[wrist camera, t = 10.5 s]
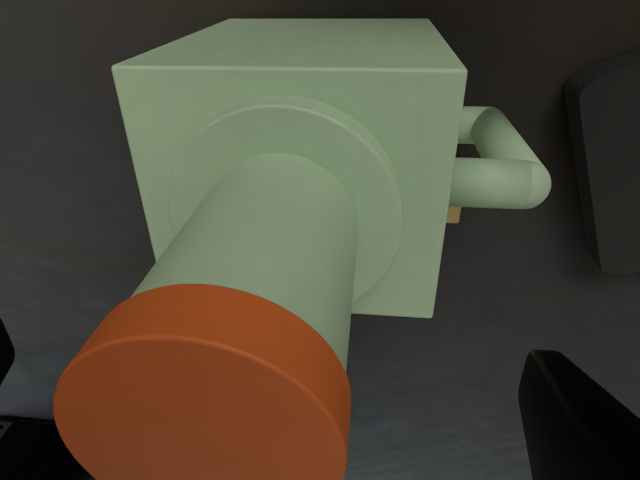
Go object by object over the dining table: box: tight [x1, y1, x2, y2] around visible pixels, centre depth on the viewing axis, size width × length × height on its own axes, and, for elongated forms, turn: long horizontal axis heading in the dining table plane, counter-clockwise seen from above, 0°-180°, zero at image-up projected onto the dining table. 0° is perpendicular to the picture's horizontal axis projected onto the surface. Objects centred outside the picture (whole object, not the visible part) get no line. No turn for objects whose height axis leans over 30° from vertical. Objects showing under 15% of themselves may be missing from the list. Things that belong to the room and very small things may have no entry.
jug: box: [53, 19, 551, 480], centre depth 11 cm, size 6×10×15 cm, turn 91°
